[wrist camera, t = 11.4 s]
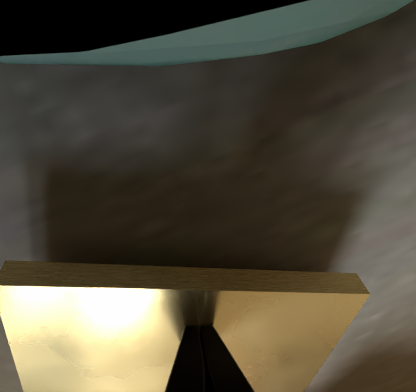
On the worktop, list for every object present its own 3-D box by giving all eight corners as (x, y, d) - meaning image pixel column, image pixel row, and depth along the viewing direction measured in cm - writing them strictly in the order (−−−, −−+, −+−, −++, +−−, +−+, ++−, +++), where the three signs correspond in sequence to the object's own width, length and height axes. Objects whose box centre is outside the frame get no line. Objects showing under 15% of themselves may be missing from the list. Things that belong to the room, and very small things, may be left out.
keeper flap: (263, 425, 16) (268, 444, 15) (50, 438, 14) (44, 461, 13) (356, 273, 10) (370, 294, 9) (6, 260, 8) (-9, 285, 7)
